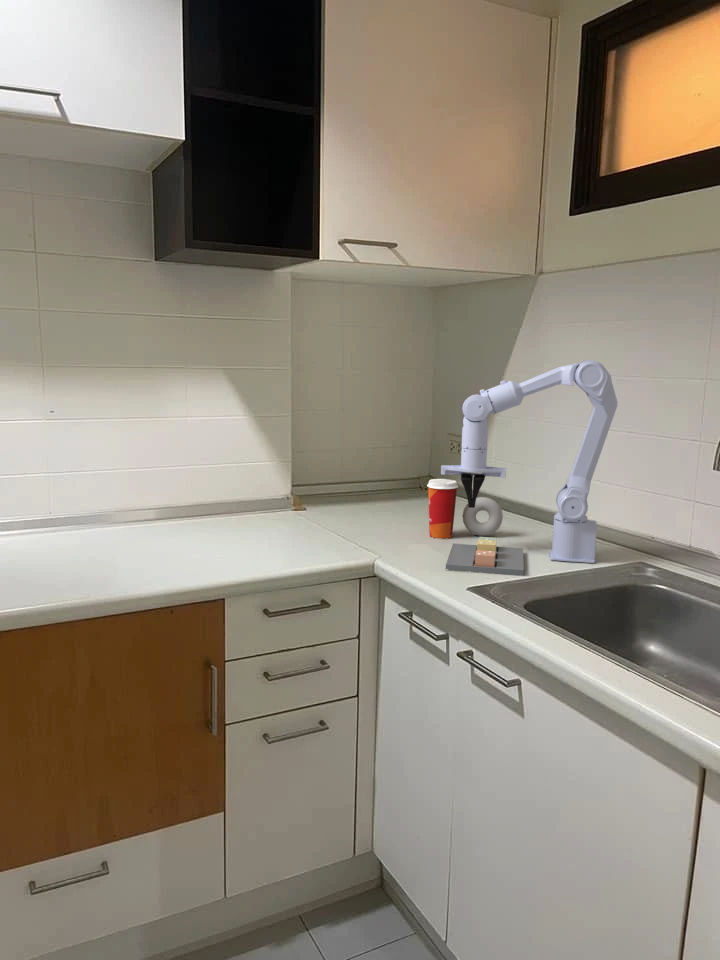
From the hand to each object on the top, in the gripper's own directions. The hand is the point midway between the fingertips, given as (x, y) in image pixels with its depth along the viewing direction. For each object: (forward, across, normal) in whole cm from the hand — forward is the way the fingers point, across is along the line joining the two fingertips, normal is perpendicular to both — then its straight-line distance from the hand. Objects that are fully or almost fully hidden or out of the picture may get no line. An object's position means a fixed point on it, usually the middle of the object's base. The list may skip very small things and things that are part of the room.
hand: (471, 506), depth 171 cm
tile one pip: (+10, -4, +2) cm, 11 cm away
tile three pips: (+10, -4, +14) cm, 18 cm away
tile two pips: (+9, -4, +8) cm, 13 cm away
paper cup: (+11, +8, -12) cm, 18 cm away
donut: (+11, -2, -15) cm, 18 cm away
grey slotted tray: (+10, -4, +8) cm, 14 cm away
